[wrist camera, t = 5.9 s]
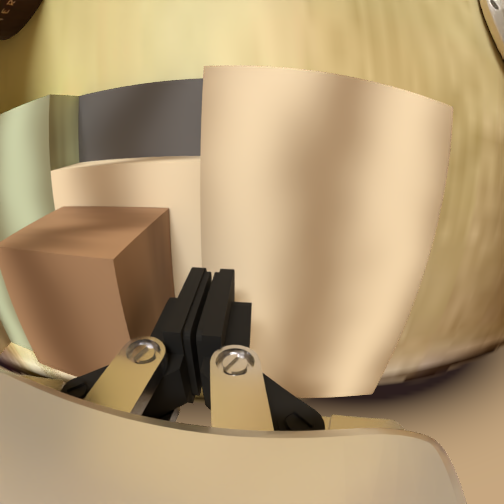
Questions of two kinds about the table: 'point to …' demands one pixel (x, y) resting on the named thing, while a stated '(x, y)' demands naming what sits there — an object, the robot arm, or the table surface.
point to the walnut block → (88, 281)
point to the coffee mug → (15, 15)
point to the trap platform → (256, 200)
